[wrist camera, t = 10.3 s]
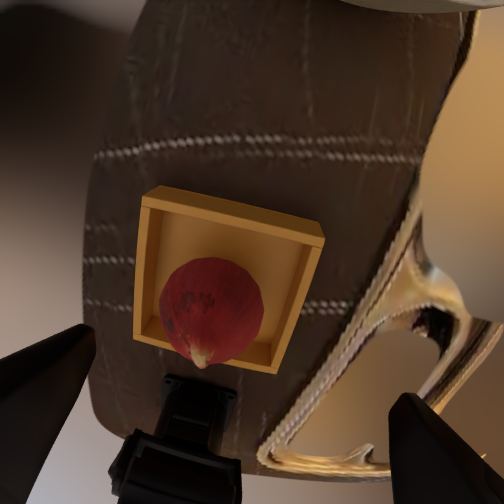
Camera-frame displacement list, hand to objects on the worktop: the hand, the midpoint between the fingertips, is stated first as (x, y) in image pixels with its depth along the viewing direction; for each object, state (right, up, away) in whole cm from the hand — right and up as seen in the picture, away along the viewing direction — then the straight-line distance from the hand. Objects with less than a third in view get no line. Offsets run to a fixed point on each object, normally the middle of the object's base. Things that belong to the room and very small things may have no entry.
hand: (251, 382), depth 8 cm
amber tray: (-2, +2, +13) cm, 14 cm away
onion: (-2, +2, +13) cm, 13 cm away
